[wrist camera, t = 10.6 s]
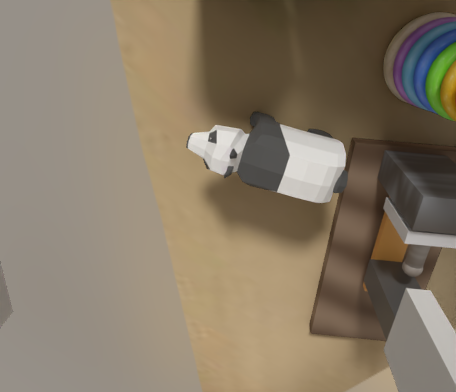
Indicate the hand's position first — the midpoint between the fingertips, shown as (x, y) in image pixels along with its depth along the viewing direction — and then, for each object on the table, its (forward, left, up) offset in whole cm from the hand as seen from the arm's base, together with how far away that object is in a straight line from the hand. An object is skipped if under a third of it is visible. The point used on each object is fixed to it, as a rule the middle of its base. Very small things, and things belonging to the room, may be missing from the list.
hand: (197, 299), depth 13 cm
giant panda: (+4, +4, -29) cm, 30 cm away
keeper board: (+16, +18, -29) cm, 37 cm away
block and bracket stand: (+13, +18, -27) cm, 35 cm away
